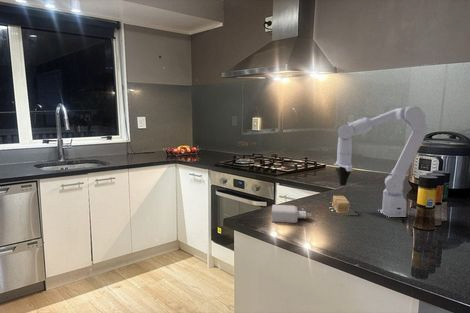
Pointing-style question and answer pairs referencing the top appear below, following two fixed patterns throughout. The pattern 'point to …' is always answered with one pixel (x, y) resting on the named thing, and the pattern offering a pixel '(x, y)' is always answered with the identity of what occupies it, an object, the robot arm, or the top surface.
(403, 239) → the top surface
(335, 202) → the oak block
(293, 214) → the white bottle
